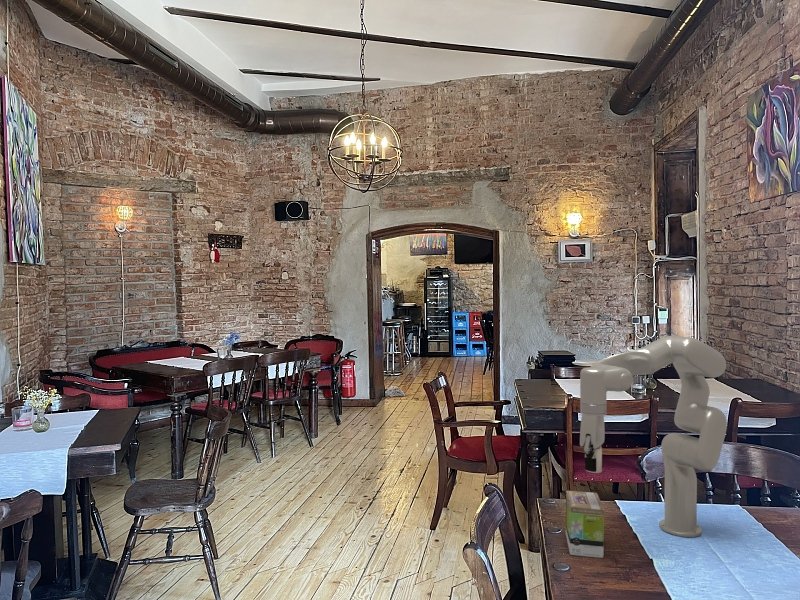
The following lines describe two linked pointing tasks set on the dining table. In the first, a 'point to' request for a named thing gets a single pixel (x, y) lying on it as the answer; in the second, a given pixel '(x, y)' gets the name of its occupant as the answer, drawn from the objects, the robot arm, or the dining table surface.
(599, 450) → the jar
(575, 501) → the tea box
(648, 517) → the dining table surface
